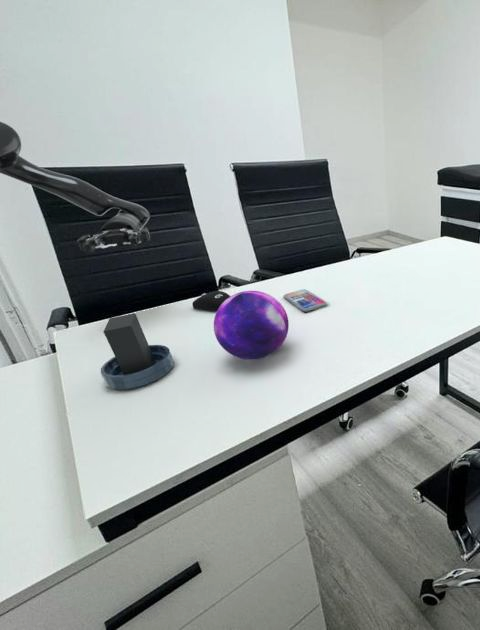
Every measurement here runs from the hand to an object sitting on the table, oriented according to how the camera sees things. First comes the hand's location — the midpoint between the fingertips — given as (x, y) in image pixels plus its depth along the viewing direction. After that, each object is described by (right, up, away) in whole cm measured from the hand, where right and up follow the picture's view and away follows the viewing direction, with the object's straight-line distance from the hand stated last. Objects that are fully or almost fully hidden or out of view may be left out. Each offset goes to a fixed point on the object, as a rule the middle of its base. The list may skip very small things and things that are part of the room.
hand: (110, 245), depth 92 cm
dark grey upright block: (+14, -29, -9) cm, 33 cm away
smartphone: (+40, -13, +21) cm, 47 cm away
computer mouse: (+14, -14, +21) cm, 29 cm away
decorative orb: (+37, -26, -4) cm, 45 cm away
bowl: (+14, -29, -9) cm, 34 cm away
